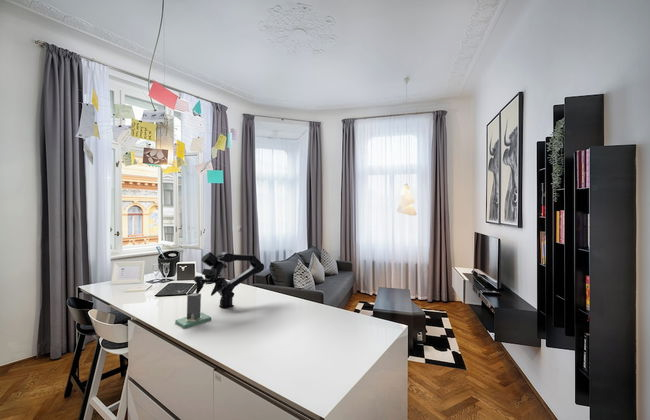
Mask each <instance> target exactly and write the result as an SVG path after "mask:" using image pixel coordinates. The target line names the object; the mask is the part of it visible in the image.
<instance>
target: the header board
mask: <svg viewBox="0 0 650 420" xmlns="http://www.w3.org/2000/svg"><path fill="white" fill-rule="evenodd" d="M194 319H195V314H192V315H191V318H190V319H188V320H187V316H185V317H182V318H177V319H175V320H174V321H175V324H176V325H178V326H179V327H180V328H182V329H187V328H191V327H193V326H196V325H199V324H202V323H205V322H209V321H211V320H212V317H211V315H207V314H206V313H204V312H200V318H198V319H197V320H194Z"/></svg>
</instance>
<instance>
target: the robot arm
mask: <svg viewBox="0 0 650 420" xmlns="http://www.w3.org/2000/svg"><path fill="white" fill-rule="evenodd" d="M200 261H201V262H202V263H203V264H205V265H207V266H208V267H209V268H203V270H202V273H201V275H203V276H204V277H205V278H204V277H203V276H201V275H195V276H194V278H193V281H194V282H195V284H196V291H195V293H197V294H200V292H201V290H202V289H203V288H204V285H205V284H207V283H209V284H211V283H212V284H215V285H214V287H213V288H212V291H211V294H210V296H212V297H213V296H214V295H215V294H216V293H218V294H219V295H220V299H219V305H218V307H220V308H222V309H229V308H231V307H235V305H234V304H233V298H234V297H235V293H234V289H235V288H236V287H237V286H239V285H240V284H242V283H243V282H245V281H246V280H247V279H248V278H251V276H254V275H256V274H259V273H261V272H263V271H264V270H265V264H264V263H263V262H261V260H259V259H258V258H257V256H256V255H254V254H252V253H251V254H234V253H230V252H225V251H222V252H221V253H219V254H217V255H215V254H214V253H212V251H208V253H206V254H205V255H204V256H202V258H201V260H200ZM235 261H236V262H237V261H239V262H240V261H242V262H243V261H245V262H246V261H247V262H248V261H249V264H250V265H249V268H248V269H247V270H244V271H243V272H242V273H240V274H239V275H238V276H236V277H234V278H233V279H231V280H230V281H228V280H227V279H226V278H225V277H222V275H221V273H222V272H223V269H227V268H228V266H227V264H226V263H231V262H232V263H233V262H235ZM210 267H211V269H210Z"/></svg>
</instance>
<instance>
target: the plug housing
mask: <svg viewBox="0 0 650 420" xmlns="http://www.w3.org/2000/svg"><path fill="white" fill-rule="evenodd" d="M186 297H187V298H186V299H187V300H186V304H187V305H186V317H187V320H188V319H190V318H191V315H192V314H195V319H194V320H197V319H198V318H200V313H201V306H202V303H201V302H202V294H201V293H198V294H197V293H196V292H193V293H190V294H187V296H186Z"/></svg>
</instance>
